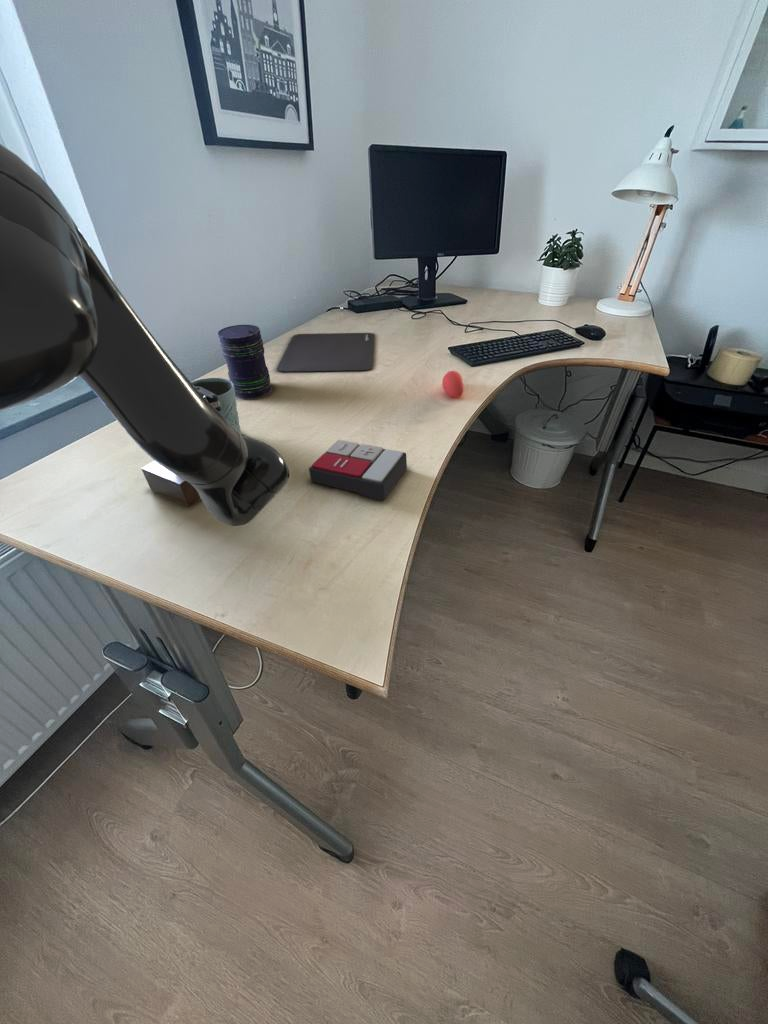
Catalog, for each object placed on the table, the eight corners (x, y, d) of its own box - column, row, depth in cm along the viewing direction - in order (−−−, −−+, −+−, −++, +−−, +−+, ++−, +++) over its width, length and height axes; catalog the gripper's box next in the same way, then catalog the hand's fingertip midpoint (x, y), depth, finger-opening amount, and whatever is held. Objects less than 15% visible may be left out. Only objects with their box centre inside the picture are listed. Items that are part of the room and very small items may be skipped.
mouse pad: (371, 370, 120) (371, 369, 120) (275, 372, 120) (274, 371, 120) (374, 333, 144) (374, 332, 144) (294, 334, 144) (294, 334, 144)
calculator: (336, 436, 86) (406, 449, 80) (339, 455, 88) (407, 468, 83) (306, 465, 78) (382, 481, 73) (310, 485, 81) (383, 501, 75)
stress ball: (435, 402, 108) (444, 385, 102) (440, 375, 112) (450, 358, 106) (454, 408, 108) (465, 392, 103) (459, 382, 112) (469, 365, 107)
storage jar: (225, 397, 109) (208, 336, 99) (244, 381, 116) (230, 323, 106) (261, 400, 107) (248, 339, 97) (278, 384, 114) (267, 325, 105)
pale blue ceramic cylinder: (188, 443, 92) (169, 390, 84) (227, 424, 98) (212, 372, 90) (217, 458, 87) (200, 403, 79) (256, 437, 93) (243, 384, 86)
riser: (188, 507, 75) (179, 484, 72) (151, 490, 79) (140, 468, 76) (230, 478, 82) (224, 455, 79) (194, 464, 86) (186, 442, 83)
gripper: (234, 392, 62) (191, 361, 72) (129, 425, 55) (97, 386, 65) (246, 438, 67) (204, 403, 77) (151, 474, 60) (118, 430, 70)
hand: (155, 395), depth 71 cm, fingers closed on beverage cup, 6 cm apart
